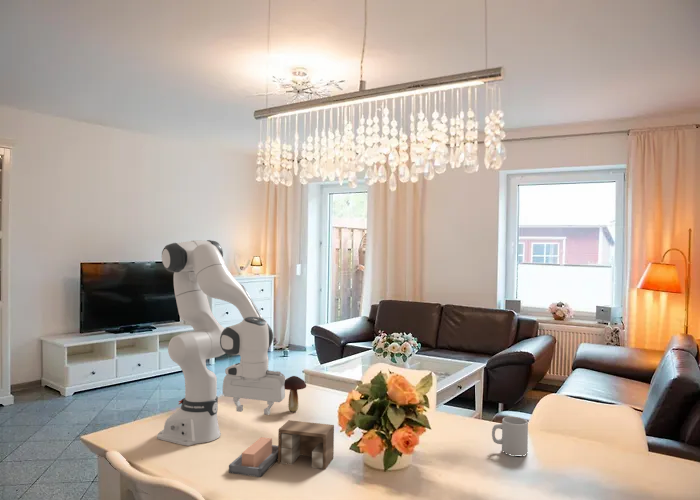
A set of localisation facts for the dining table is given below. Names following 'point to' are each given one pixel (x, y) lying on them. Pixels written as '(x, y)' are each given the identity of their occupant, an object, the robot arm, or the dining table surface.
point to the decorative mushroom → (294, 391)
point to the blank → (257, 452)
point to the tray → (254, 471)
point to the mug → (513, 435)
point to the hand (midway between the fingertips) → (253, 412)
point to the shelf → (306, 443)
